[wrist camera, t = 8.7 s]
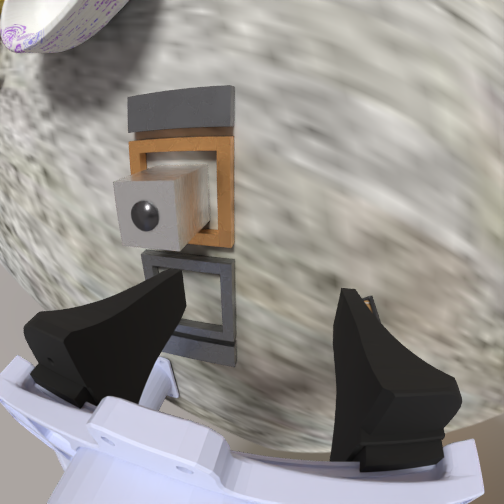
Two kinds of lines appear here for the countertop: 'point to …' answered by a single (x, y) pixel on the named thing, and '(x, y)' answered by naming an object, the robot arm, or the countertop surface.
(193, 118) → the rail
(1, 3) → the plant pot
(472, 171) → the countertop surface
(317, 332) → the countertop surface
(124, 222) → the brushed metal block
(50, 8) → the paper bowls
